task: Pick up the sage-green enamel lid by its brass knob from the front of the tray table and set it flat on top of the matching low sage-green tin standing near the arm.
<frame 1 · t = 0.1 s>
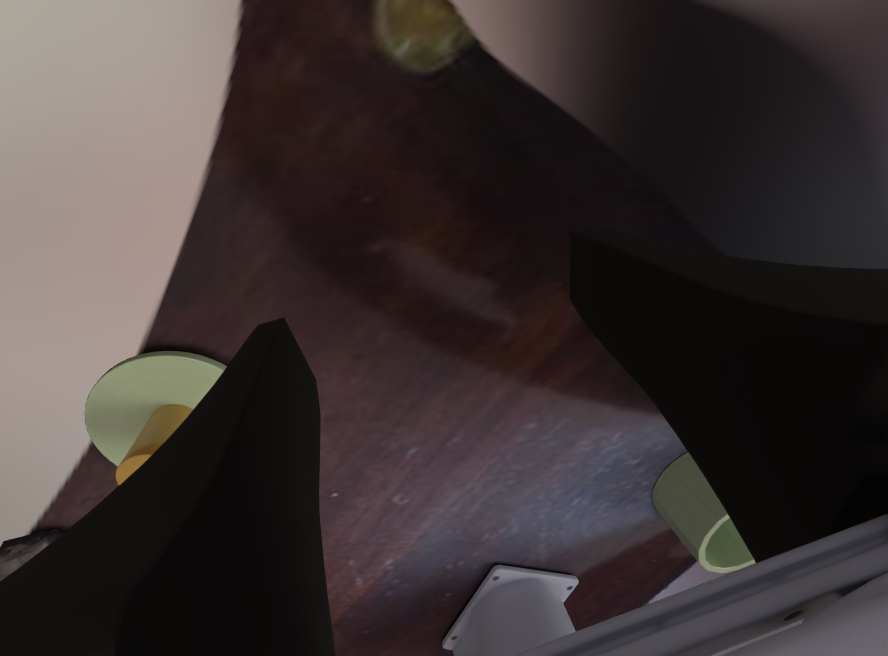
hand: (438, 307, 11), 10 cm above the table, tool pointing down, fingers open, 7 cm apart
tin: (694, 481, 33), on the table
lid: (180, 418, 22), point 1 cm above the table
geode: (170, 605, 28), on the table
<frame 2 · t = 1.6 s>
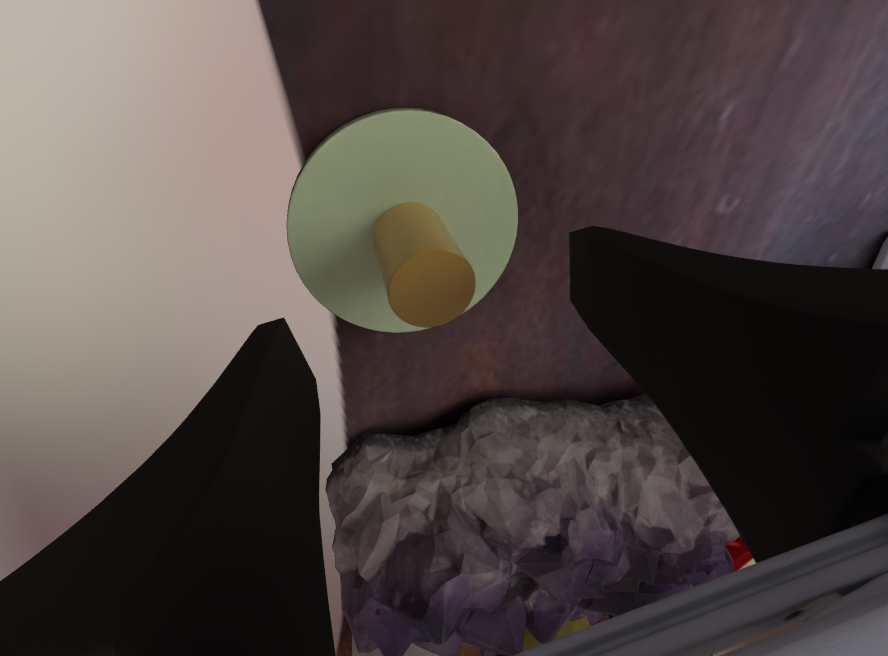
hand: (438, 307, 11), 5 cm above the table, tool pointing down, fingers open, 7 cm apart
alarm clock: (752, 508, 37), on the table
coffee cup: (397, 607, 32), on the table
vase: (529, 578, 34), on the table
lid: (406, 232, 15), point 1 cm above the table
geode: (510, 456, 25), on the table
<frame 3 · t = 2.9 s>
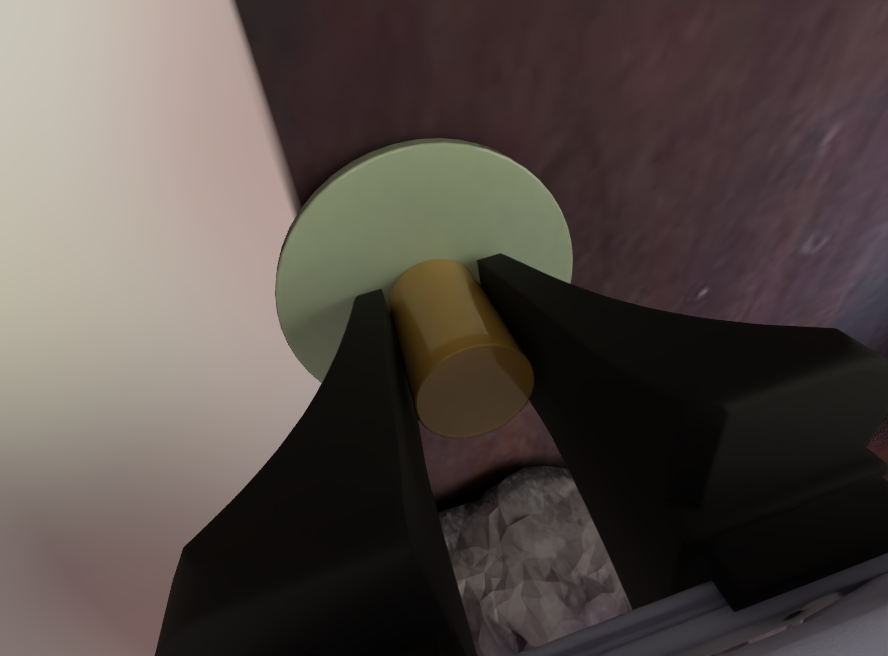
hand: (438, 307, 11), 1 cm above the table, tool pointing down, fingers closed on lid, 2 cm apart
lid: (430, 291, 12), point 1 cm above the table, touching gripper
geode: (538, 521, 21), on the table
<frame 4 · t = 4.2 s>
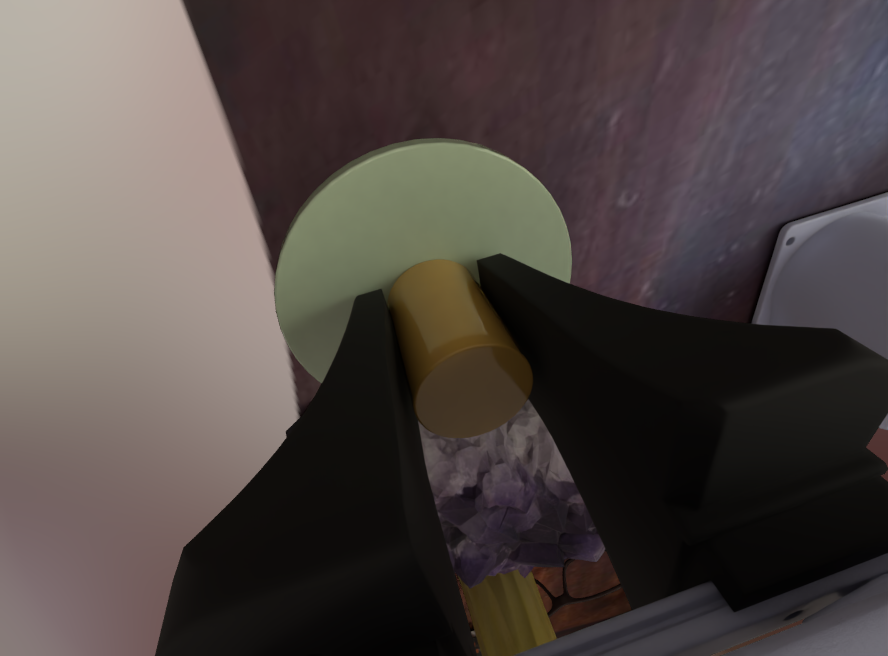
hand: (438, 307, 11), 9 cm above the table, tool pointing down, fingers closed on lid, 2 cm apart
beverage can: (460, 635, 46), on the table
eyeglasses: (562, 588, 45), on the table, touching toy
vase: (486, 548, 37), on the table
lid: (429, 291, 12), point 8 cm above the table, touching gripper
geode: (454, 428, 27), on the table
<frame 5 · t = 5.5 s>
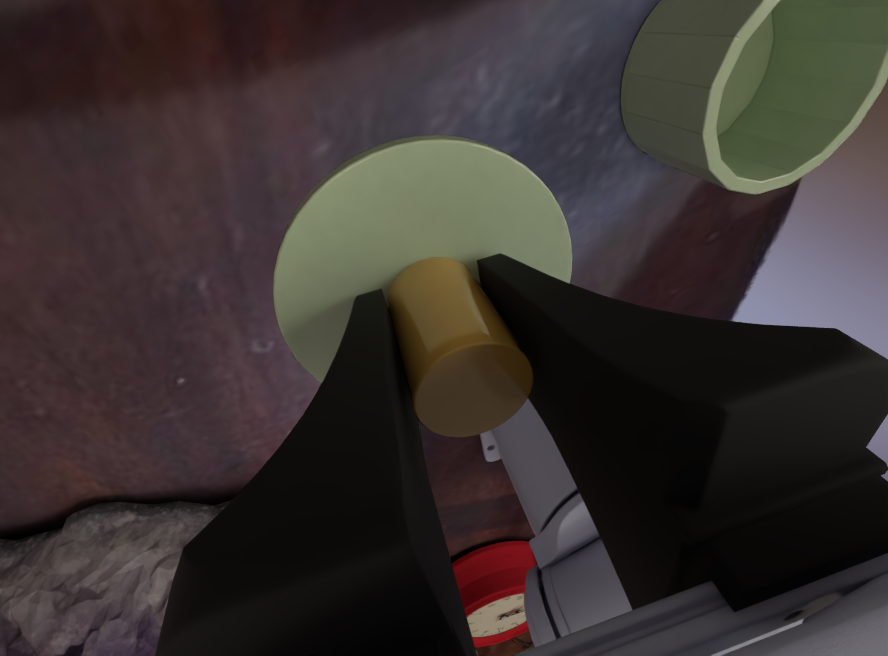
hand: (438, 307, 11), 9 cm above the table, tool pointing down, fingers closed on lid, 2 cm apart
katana: (499, 646, 51), on the table
alarm clock: (504, 564, 40), on the table
tin: (697, 72, 18), on the table
lid: (429, 290, 11), point 8 cm above the table, touching gripper
geode: (172, 541, 27), on the table
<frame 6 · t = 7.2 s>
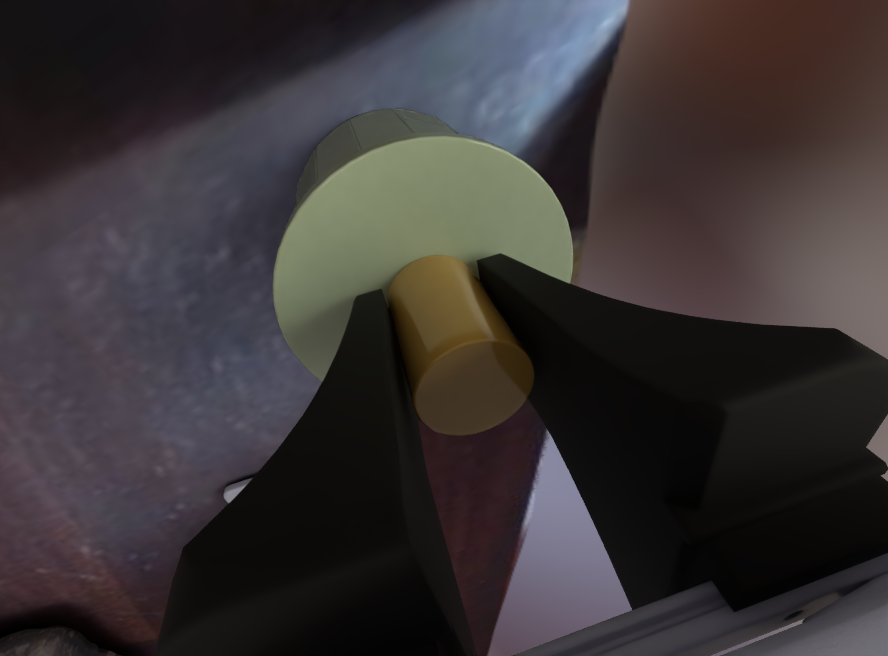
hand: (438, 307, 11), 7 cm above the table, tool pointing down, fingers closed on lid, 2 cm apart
tin: (396, 213, 16), on the table
lid: (429, 288, 11), point 6 cm above the table, touching gripper
when the fingers open (6 cm above the table, at t = 7.8 s): lid stays where it is, resting on tin.
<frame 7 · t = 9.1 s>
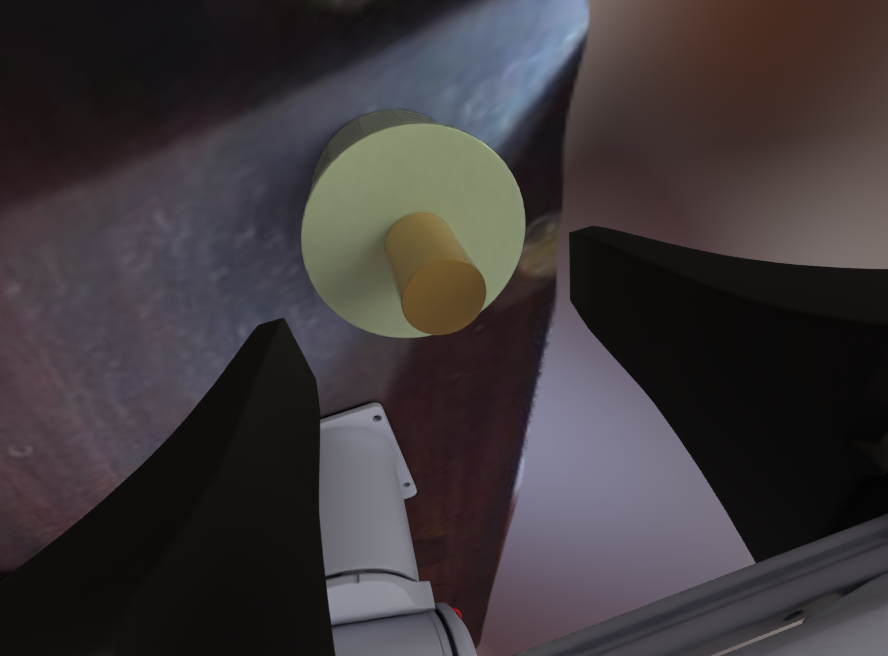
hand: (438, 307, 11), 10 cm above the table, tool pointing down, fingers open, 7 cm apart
tin: (396, 198, 19), on the table
lid: (416, 240, 15), point 5 cm above the table, touching tin
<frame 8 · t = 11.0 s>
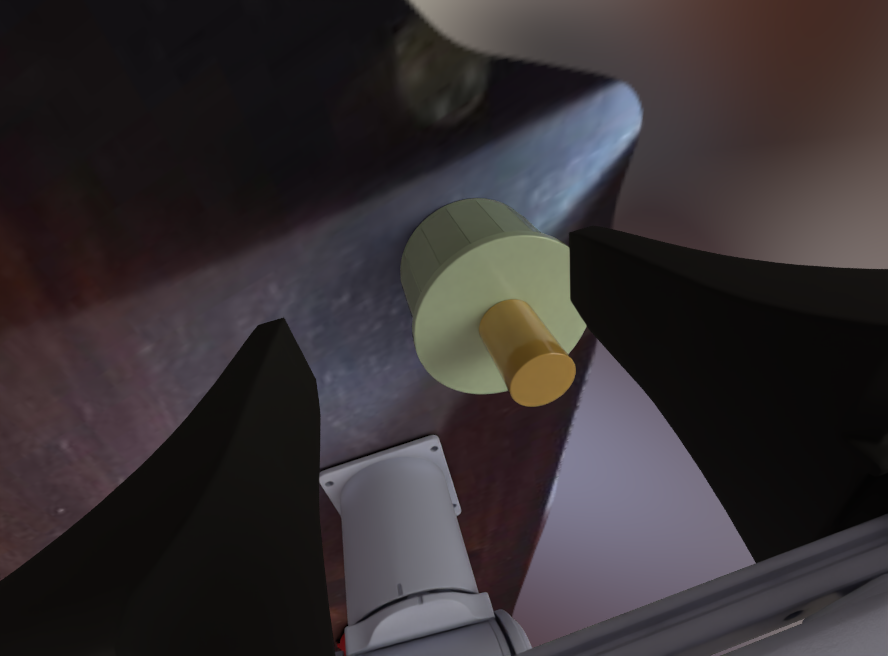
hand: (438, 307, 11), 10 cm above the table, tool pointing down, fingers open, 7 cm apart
tin: (469, 266, 22), on the table
lid: (502, 317, 18), point 5 cm above the table, touching tin
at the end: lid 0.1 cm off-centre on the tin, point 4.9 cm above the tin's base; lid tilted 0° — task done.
